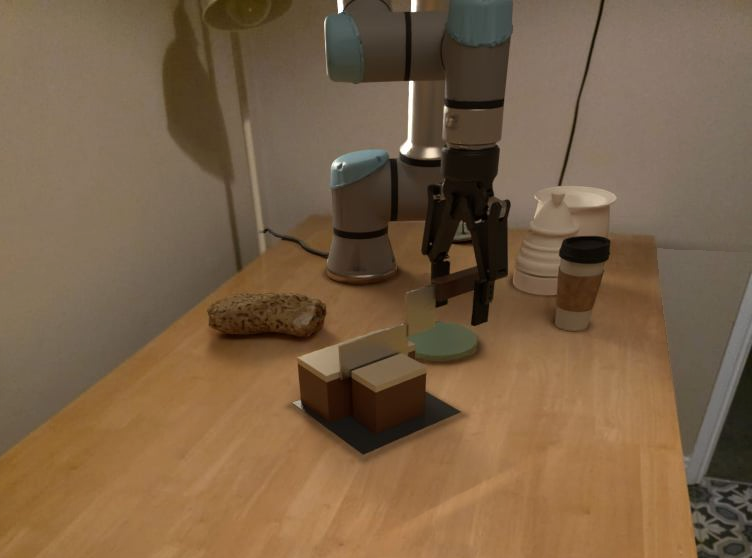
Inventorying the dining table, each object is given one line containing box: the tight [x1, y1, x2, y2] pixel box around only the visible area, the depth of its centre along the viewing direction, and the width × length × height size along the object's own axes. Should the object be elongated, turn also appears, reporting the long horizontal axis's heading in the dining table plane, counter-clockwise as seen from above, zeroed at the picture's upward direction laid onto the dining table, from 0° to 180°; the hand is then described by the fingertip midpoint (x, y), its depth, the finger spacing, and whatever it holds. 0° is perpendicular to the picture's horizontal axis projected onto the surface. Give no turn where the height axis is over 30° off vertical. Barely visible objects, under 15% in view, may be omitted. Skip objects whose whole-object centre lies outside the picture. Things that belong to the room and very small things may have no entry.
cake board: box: [292, 391, 462, 456], centre depth 99 cm, size 18×18×1 cm
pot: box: [533, 185, 618, 238], centre depth 150 cm, size 22×17×12 cm
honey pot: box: [512, 191, 580, 296], centre depth 133 cm, size 13×13×18 cm
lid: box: [453, 220, 472, 242], centre depth 162 cm, size 10×10×5 cm
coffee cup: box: [554, 236, 612, 332], centre depth 118 cm, size 8×8×15 cm
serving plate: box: [408, 320, 479, 362], centre depth 116 cm, size 14×14×2 cm
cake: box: [296, 327, 416, 423], centre depth 99 cm, size 16×8×8 cm, turn 127°
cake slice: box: [351, 353, 428, 434], centre depth 95 cm, size 6×9×8 cm, turn 127°
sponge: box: [206, 292, 327, 338], centre depth 120 cm, size 13×8×20 cm
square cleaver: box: [338, 265, 489, 380], centre depth 95 cm, size 27×2×10 cm, turn 127°
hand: (458, 314), depth 100 cm, fingers open, 8 cm apart
